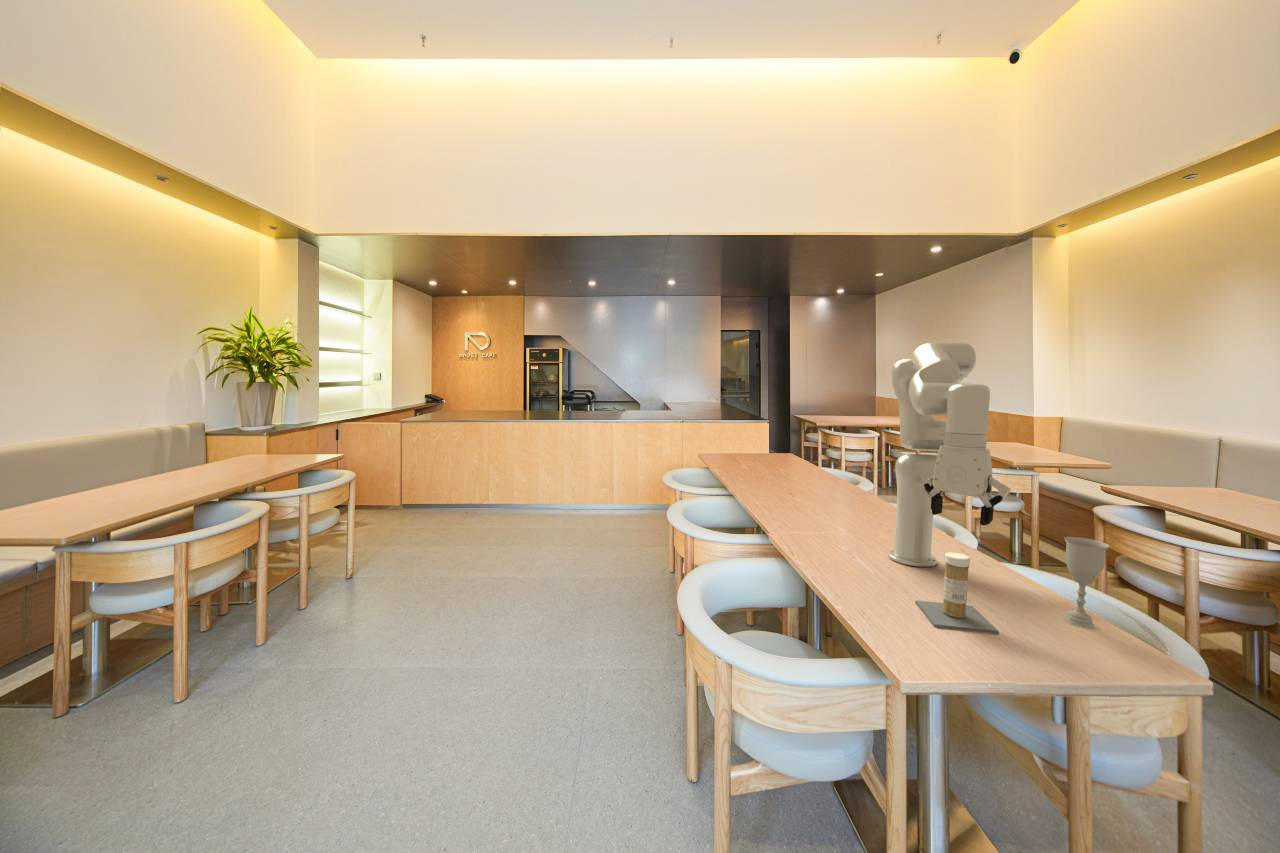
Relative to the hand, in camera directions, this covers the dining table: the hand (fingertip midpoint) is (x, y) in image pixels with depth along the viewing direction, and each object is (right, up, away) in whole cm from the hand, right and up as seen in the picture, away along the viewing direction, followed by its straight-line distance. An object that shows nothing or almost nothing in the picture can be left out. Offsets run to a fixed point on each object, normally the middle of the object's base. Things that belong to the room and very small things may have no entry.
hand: (960, 518), depth 106 cm
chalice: (+26, -23, 0) cm, 35 cm away
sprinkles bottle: (0, -22, +2) cm, 22 cm away
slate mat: (0, -22, +2) cm, 22 cm away
